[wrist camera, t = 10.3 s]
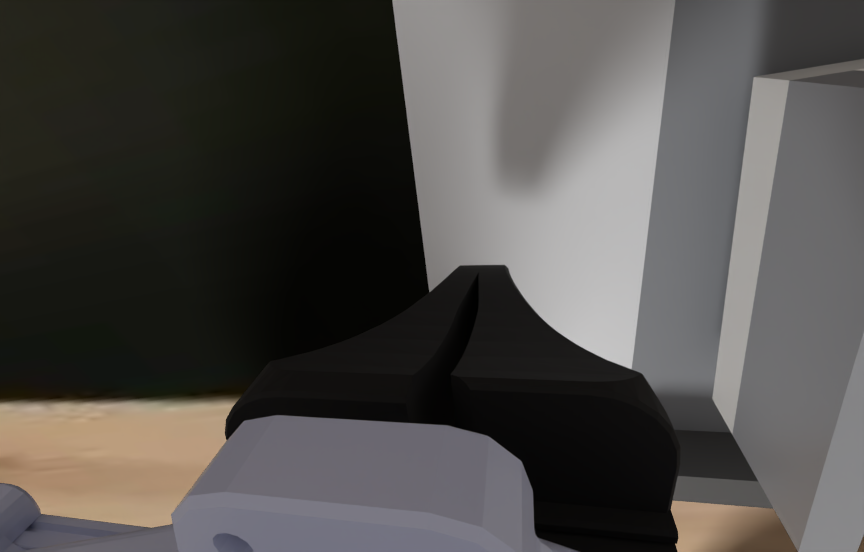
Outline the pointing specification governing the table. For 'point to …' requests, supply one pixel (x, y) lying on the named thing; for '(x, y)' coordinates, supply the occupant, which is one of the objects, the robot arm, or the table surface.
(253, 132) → the table surface
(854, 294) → the grey angled piece
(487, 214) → the dock
